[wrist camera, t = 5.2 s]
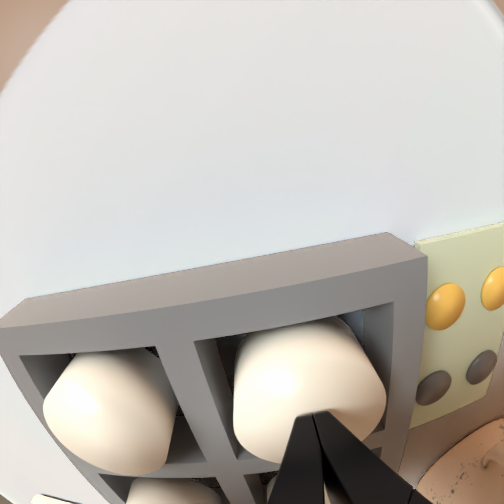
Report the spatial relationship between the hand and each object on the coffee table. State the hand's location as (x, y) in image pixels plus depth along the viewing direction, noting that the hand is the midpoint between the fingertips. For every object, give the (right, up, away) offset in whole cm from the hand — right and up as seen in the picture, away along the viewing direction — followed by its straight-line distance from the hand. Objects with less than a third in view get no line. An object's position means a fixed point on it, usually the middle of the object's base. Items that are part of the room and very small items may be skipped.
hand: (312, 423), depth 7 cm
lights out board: (0, -2, +4) cm, 5 cm away
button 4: (-6, 0, +3) cm, 7 cm away
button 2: (0, +1, +3) cm, 3 cm away
